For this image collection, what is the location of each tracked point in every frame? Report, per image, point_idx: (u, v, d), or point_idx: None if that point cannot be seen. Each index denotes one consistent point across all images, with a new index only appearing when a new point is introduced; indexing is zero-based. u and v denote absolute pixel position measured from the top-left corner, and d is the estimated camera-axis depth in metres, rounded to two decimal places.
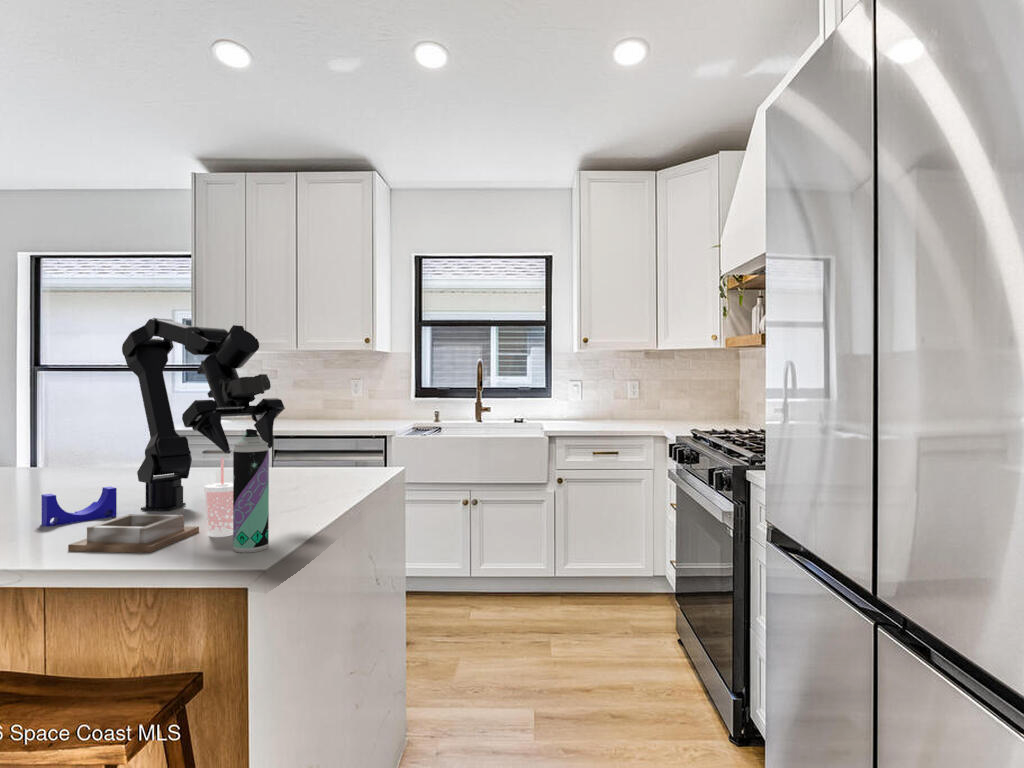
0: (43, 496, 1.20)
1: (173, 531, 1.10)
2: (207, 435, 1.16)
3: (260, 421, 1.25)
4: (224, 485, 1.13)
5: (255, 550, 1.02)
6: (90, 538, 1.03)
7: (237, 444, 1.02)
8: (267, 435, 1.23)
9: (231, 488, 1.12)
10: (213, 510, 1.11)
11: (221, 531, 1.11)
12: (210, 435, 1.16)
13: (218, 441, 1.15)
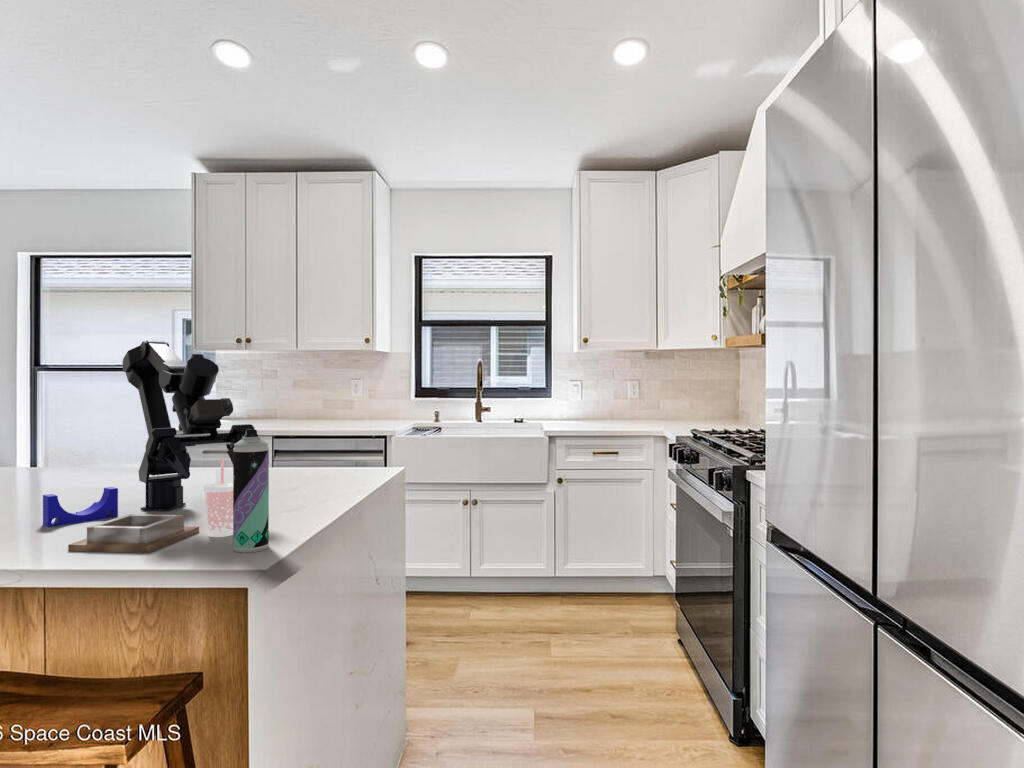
0: (44, 496, 1.19)
1: (173, 531, 1.10)
2: (170, 463, 1.14)
3: (232, 448, 1.23)
4: (224, 485, 1.13)
5: (255, 550, 1.02)
6: (90, 538, 1.03)
7: (237, 444, 1.02)
8: None
9: (231, 488, 1.12)
10: (213, 510, 1.11)
11: (221, 531, 1.11)
12: (173, 463, 1.14)
13: (179, 467, 1.13)
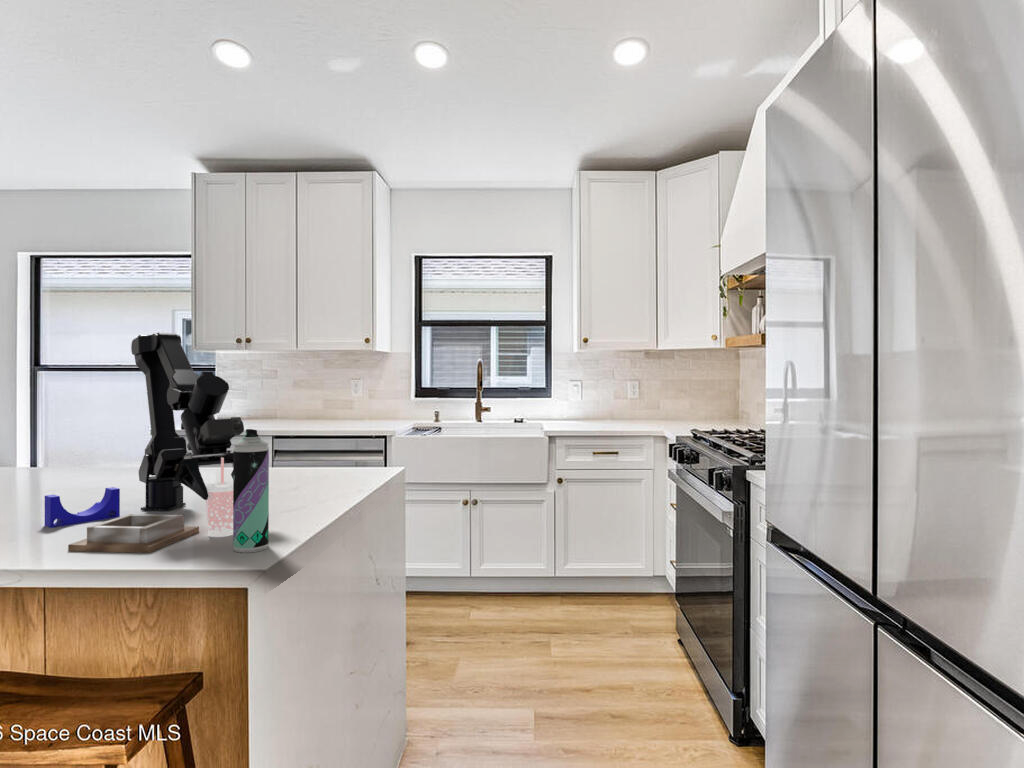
0: (46, 497, 1.19)
1: (173, 531, 1.10)
2: (188, 485, 1.12)
3: None
4: (224, 485, 1.13)
5: (255, 550, 1.02)
6: (90, 538, 1.03)
7: (237, 444, 1.02)
8: None
9: (231, 488, 1.12)
10: (213, 510, 1.11)
11: (221, 531, 1.11)
12: (190, 484, 1.12)
13: (197, 489, 1.11)
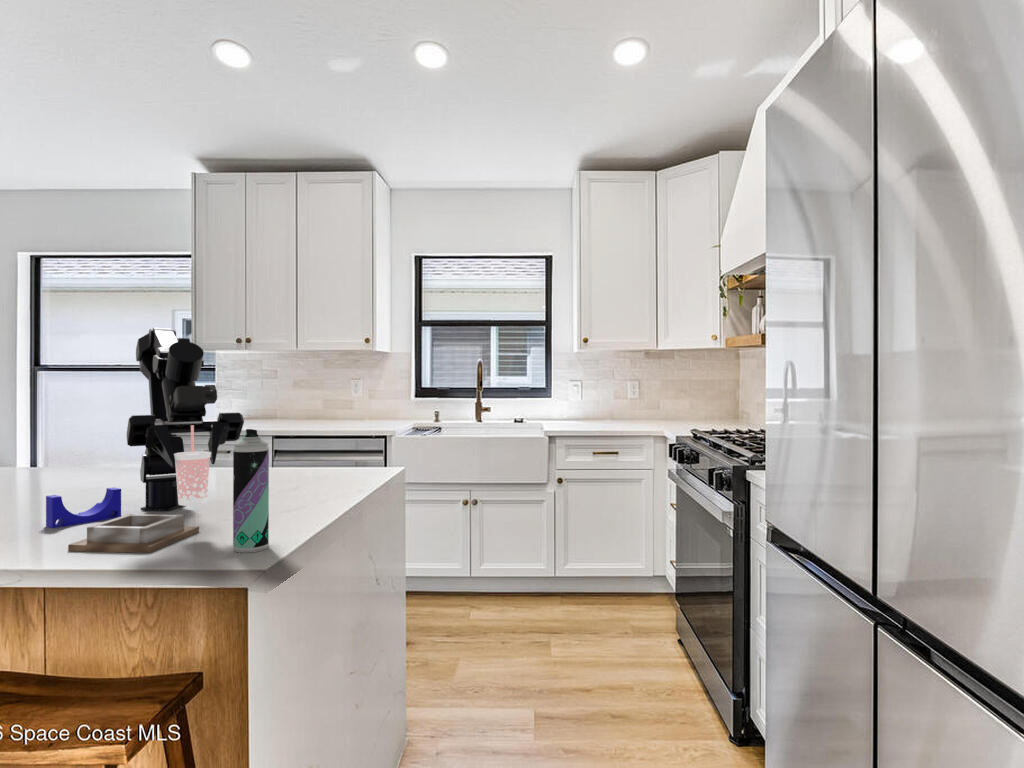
0: (48, 497, 1.18)
1: (173, 531, 1.10)
2: (159, 451, 1.10)
3: (210, 438, 1.16)
4: (193, 453, 1.10)
5: (255, 550, 1.02)
6: (90, 538, 1.03)
7: (237, 444, 1.02)
8: (211, 450, 1.13)
9: (199, 456, 1.09)
10: (181, 479, 1.09)
11: (189, 500, 1.09)
12: (160, 451, 1.10)
13: (166, 456, 1.09)
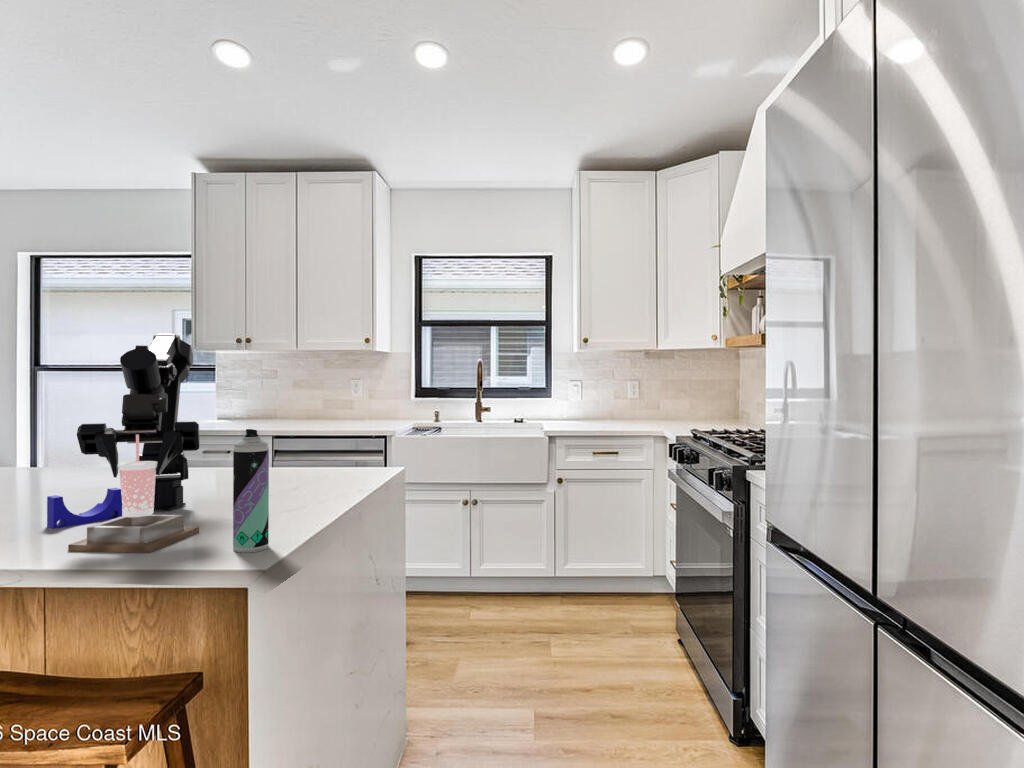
0: (49, 498, 1.18)
1: (173, 531, 1.10)
2: (108, 461, 1.09)
3: None
4: (136, 463, 1.07)
5: (255, 550, 1.02)
6: (90, 538, 1.03)
7: (237, 444, 1.02)
8: None
9: (138, 467, 1.06)
10: (122, 489, 1.06)
11: (130, 511, 1.06)
12: (109, 460, 1.09)
13: (110, 465, 1.07)
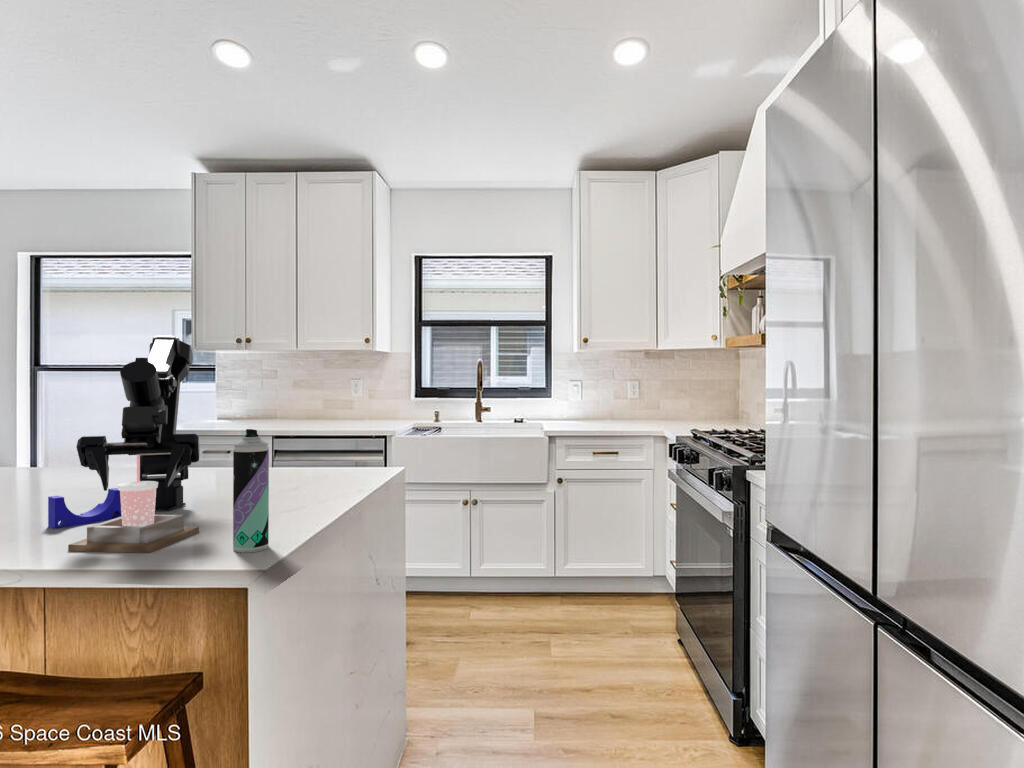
0: (50, 498, 1.18)
1: (173, 531, 1.10)
2: (99, 474, 1.09)
3: None
4: (137, 484, 1.07)
5: (255, 550, 1.02)
6: (90, 538, 1.03)
7: (237, 444, 1.02)
8: (167, 472, 1.10)
9: (138, 488, 1.06)
10: (122, 510, 1.06)
11: None
12: (100, 473, 1.08)
13: None
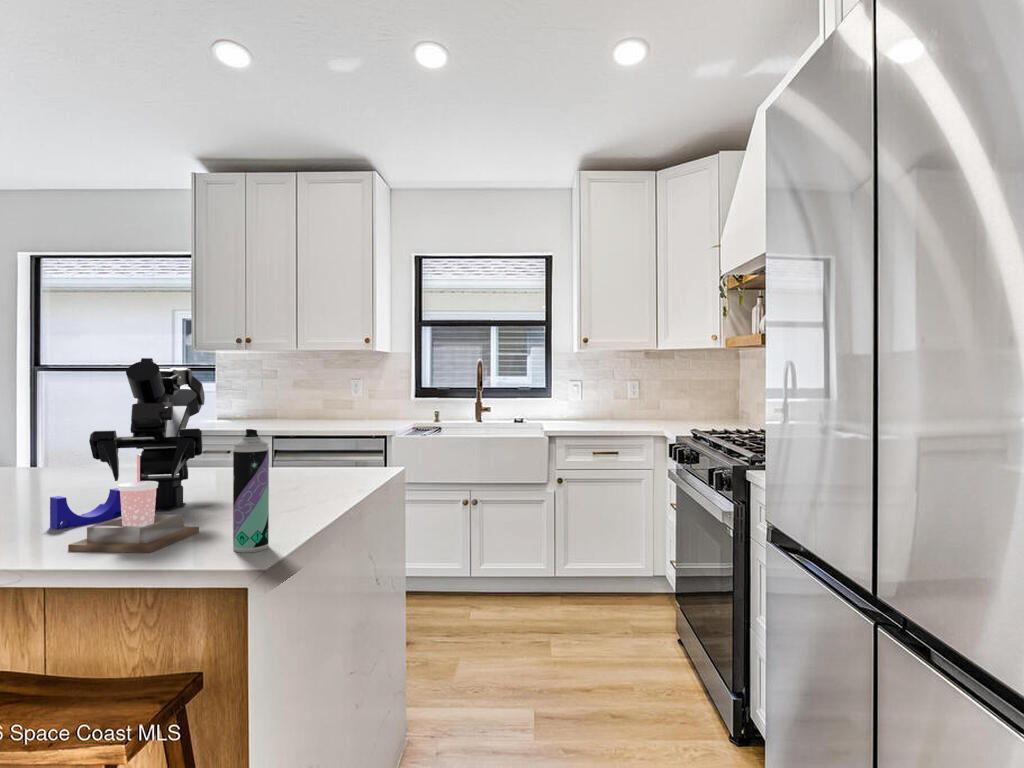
0: (52, 498, 1.17)
1: (173, 531, 1.10)
2: (110, 465, 1.17)
3: None
4: (137, 484, 1.07)
5: (255, 550, 1.02)
6: (90, 538, 1.03)
7: (237, 444, 1.02)
8: (173, 464, 1.19)
9: (138, 488, 1.06)
10: (122, 510, 1.06)
11: None
12: (110, 465, 1.17)
13: (112, 470, 1.15)
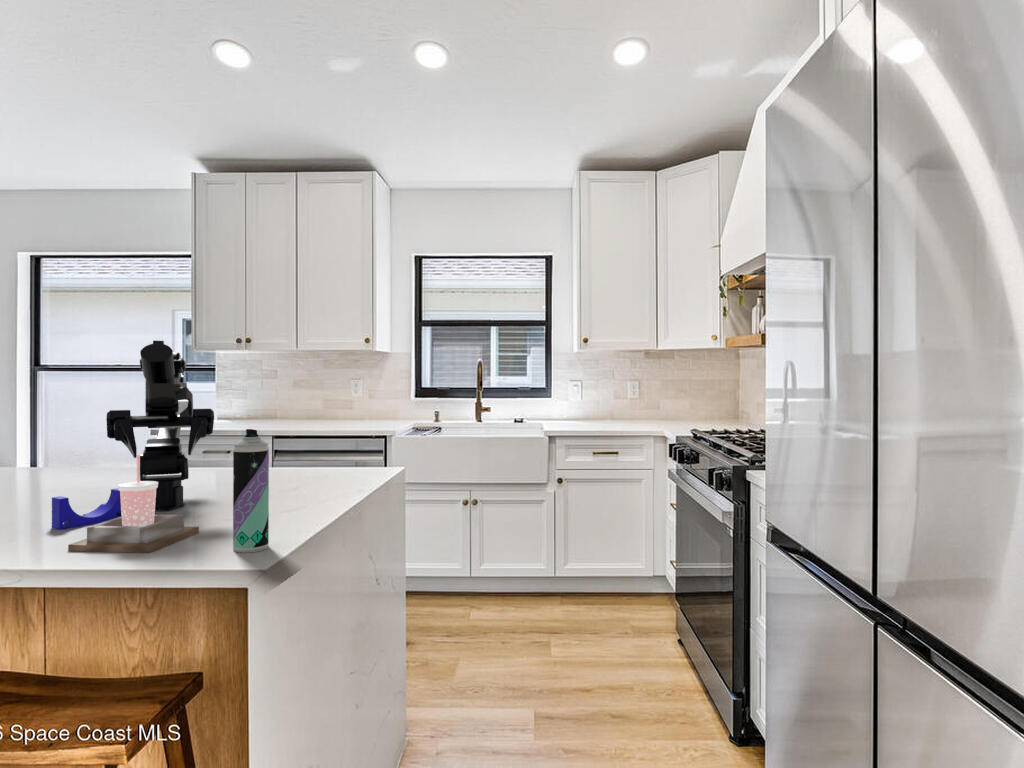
0: (54, 499, 1.17)
1: (173, 531, 1.10)
2: (125, 444, 1.21)
3: None
4: (137, 484, 1.07)
5: (255, 550, 1.02)
6: (90, 538, 1.03)
7: (237, 444, 1.02)
8: None
9: (138, 488, 1.06)
10: (122, 510, 1.06)
11: None
12: (127, 443, 1.20)
13: (129, 447, 1.19)
